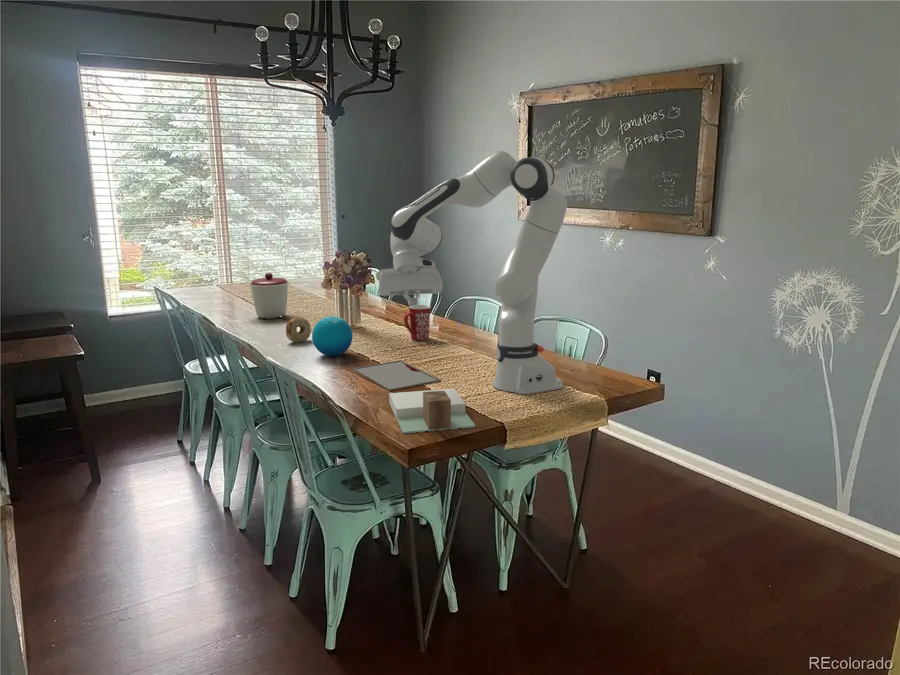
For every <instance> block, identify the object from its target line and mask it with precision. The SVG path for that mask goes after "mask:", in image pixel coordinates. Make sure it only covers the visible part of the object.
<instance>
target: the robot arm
mask: <svg viewBox="0 0 900 675" xmlns="http://www.w3.org/2000/svg"><path fill="white" fill-rule="evenodd" d="M554 182H555V171H554V168H553V166H552V164H550V162H548V161H547V160H545V159H543V158H540V157H537V156H529V157H523V158H521V159H519V160H516V159H515V158H514V157H513V156H512V155H511V154H510V153H509V152H506V151H504V150H498V151H495V152H494V153H492V154H490V155H489V156H487V157H485V158H484V159H483V160H482V161H480V162H479V163H478V164H477V165H475V166H474V167H473V168H472V169H470V171H467V173H465V174H463V175H461V176H458V177H456V178H449V179H446V180H445V181H442V182H441V183H439V184H438V185H436V186H435V187H434V188H432V189H431V190H429V191H428V192H426V193H425V194H423V195H422V196H420V197H419V198H417V199H416V200H415V201H412V203H409V204H408V205H405V206H403V207H401V208H399V209H398V210H396V211H395V213H393V215H392V216H391V219H390V230H391V232H390V238H389V239H390V240H389V241H390V242H389V243H390V244H389V245H390V251H391V255H392V256H393V258H392V265H393V266H392V267H393V268H381V269H380V270H377V271H376V273H375V277H376V279H377V281H378V294H379V295H381V296H382V297H383V296H403V298H404V300H406V301H407V304H408V306H412V305H419V298H420V295H429V294H430V295H431V294H434V295H435V294H440V293H442V290H443V286H444V284H443V279H442V275H441V274H440V272H439V270H438V269H437V268H436V261H434V260H431V259H426V258H423V257H424V256H426V255H428V254H430V253H432V252H434V251H435V250H437V249H438V248H439V247H440V245H441V243H442V240H443V231H442V229H441V227H440V226H439V225H438V224H436V223H434V222H433V221H431V220H429V219H428V218H426V217H427V216H429V215H430V214H432V213H433V212H435V211H436V210H438V209H440V207H443V206H445V205H446V206H447V205H451V204H453V205H459V206H460V205H461V206H465V207H469V208H473V209H474V208H482V207H484V206H486V205H488V204H489V203H490V202H492V201H493V200H494V199H495V198H496V197H497V196H498V195H499V194H501V193H502V192H503V191H504V190H506V189H507V188H509V187H513V188H514V189H515V190H516V191H517V192H518V193H519V194H520V195H521V196H523V198H524V199H526V200H527V201H529V202H530V204H529V209H528V212H527V214H526V216H525V218H524V220H523V223H522V225H521V228H520V230H519V231H518V232H519V233H518V235H517V237H516V239H515V242H514V244H513V246H512V248H511V250H510V252H509V254H508V255H507V258H506V260H505V262H504V264H503V266H502V268H501V270H500V272H499V274H498V276H497V278H496V281H495V285H494V286H495V287H494V290H495V291H494V292H495V295H496V296H497V298H498V300H500V301H501V302H502V303H501V309H500V313H499V318H498V342H497V345H496V346H497V347H496V359H497V365H496V370H495V376H494V379H493V382H492V386H493V387H494V388H495V389H497V390H499V391H500V390H501V391H503V392H504V391H505V392H509V393H516V394H519V395H529V394H535V393H541V392H548V391H554V390H560V389H563V387H564V383H563V381H562V380H561V379H560V378H558V377H557V373H556V369H555V368H554V365H553V364H552V363H550V362H549V361H548V360H547V359H545V358H544V357H543V356H542V355H540V354H542V353H544V351H545V348H544V347H543V346H542V345H540V344H537V343H535V342H534V333H535V332H534V331H535V330H534V329H535V315H536V307H537V301H538V289H539V276H540V273H541V272H542V270H543V268H544V266H545V263H546V262H547V260H548V258H549V256H550V255H551V252H552V248H553V247H554V244H555V242H556V240H557V238H558V235H559V233H560V231H561V228H562V225H563V224H564V220H565V217H566V213H567V207H568V200H567V198H566V196H565V195H564V194H563V193H562V192H560V191H559V190H556V189H555V188H553V184H554ZM410 295H414V296H415V297H411V296H410ZM539 353H540V354H539Z"/></svg>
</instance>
